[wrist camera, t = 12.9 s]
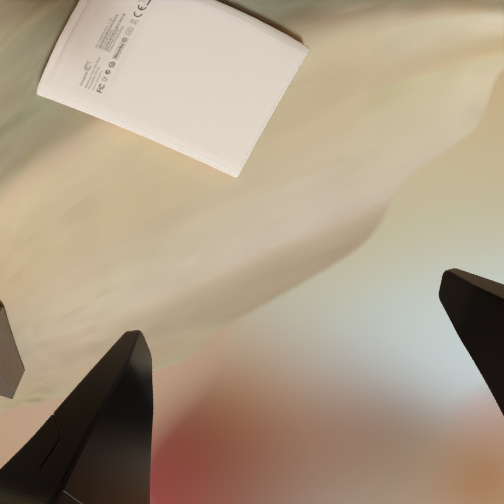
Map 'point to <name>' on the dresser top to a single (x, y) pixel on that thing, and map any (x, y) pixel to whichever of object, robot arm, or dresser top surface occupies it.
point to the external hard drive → (175, 73)
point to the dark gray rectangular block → (8, 359)
